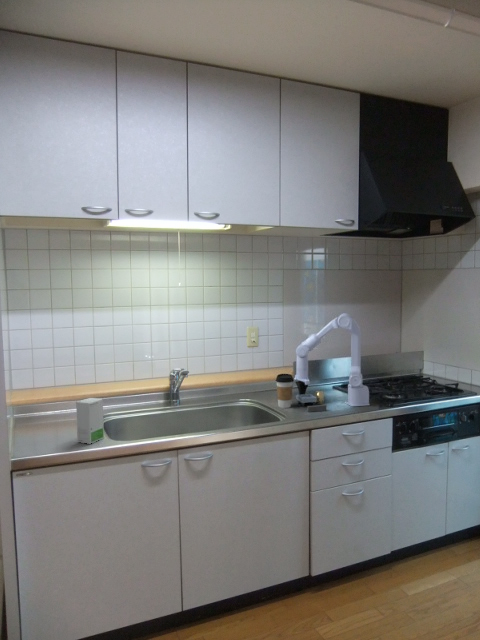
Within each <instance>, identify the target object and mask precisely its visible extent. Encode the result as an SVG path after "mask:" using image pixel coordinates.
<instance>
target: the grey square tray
mask: <svg viewBox="0 0 480 640" xmlns="http://www.w3.org/2000/svg"><path fill="white" fill-rule="evenodd" d="M295 398H296V400H297V401H296V402H297V403H298V404H300V403H301V406H302V407H304V406H305V403H312V406H316V402H317V398H316V395H313V394H311V393H307V394H306V393H305V394H303V395H299V394H296V395H295Z"/></svg>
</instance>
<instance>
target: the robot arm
mask: <svg viewBox="0 0 480 640" xmlns="http://www.w3.org/2000/svg"><path fill="white" fill-rule="evenodd" d="M339 328H342V329H344V330H346V331H348V333H349V334H350V336H351V337H350V338H351V339H350V340H351V341H350V346H351V347H350V348H351V349H350V373H349V376H348V377H349V378H348V384H347V400H346V401H344V402H343V403H345V404H346V405H348V406H350V407H364V406H370V391H369V387H368V386H367V385H365V384H363V382H364V380H363V374H362V371H361V370H362V369H361V367H362V366H361V361H362V360H361V358H362V354H361V353H362V351H361V349H362V348H361V347H362V346H361V345H362V342H361V341H362V334H361V333H362V331H361V330H362V329H361V327H360V326H359V324H358V322H356V320H355V318H354V317H353V316H352V315H350V314H349V313H347V312H346V313H345V312H344V313H341V314H340V315H338V316H337V317H335V318H333V319H332V320H331V321H329V322H328V323H327V324H326V325H325V326H324V327H323V328H322V329H321V330H320V331H318V332H317V333H312V334H308V337H307V339H305V340H304V341H302V342H300V343H301V344H299V345H298V346H297V347H296V349H295V354H296V366H295V367H296V371H295V372H296V374H295V375H294V378H293V380H294V381H295V385H296V387H297V390H298V395H303V394H306V391H307V388H308V387H309V385H310V384H311V383H310V382H311V381H310V379H309V356H308V355H309V352H311V351H313V350H314V349H315V348H316V347H318V346H319V345H320V344H321V339H323V338H324V337H325V336H326V335H328V334H329V333H330V332H331V331H332V330H334V329H339Z"/></svg>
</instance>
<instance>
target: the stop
mask: <svg viewBox="0 0 480 640" xmlns="http://www.w3.org/2000/svg"><path fill="white" fill-rule="evenodd" d="M306 411H307V412H308V413H315V412H322V411H323V412H324V411H325V412H326V411H327V405H326V404H317V405H307V408H306Z"/></svg>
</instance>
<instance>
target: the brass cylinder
mask: <svg viewBox="0 0 480 640" xmlns="http://www.w3.org/2000/svg"><path fill="white" fill-rule="evenodd" d="M324 393H325V392H324V391H323V390H317V391H315V397H316V398H317V402H315V405H316V404H317V405H324V403H325V402H324V399H325V396H324V395H325V394H324Z"/></svg>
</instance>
